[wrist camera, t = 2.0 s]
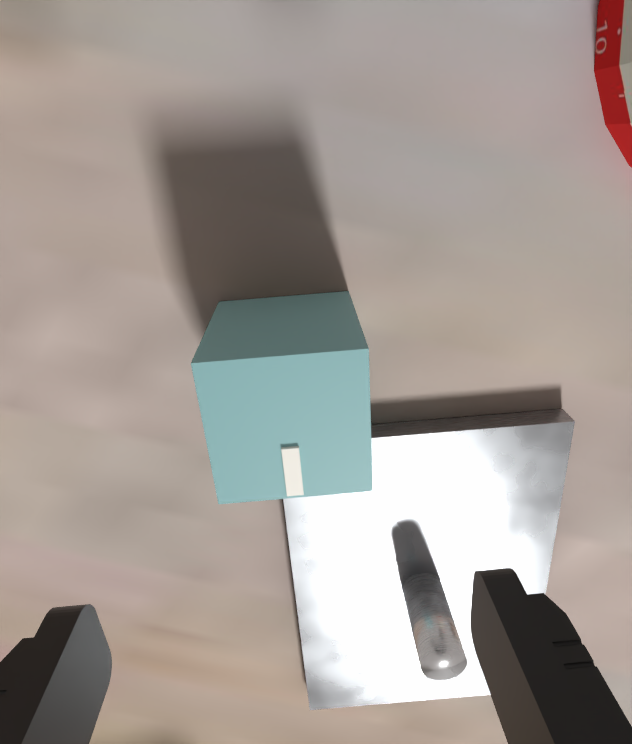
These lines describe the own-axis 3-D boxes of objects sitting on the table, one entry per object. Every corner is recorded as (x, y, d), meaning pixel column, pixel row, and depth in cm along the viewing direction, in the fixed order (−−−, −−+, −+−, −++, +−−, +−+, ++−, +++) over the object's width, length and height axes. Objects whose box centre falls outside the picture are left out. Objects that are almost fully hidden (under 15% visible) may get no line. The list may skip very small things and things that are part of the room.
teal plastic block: (218, 301, 22) (189, 365, 16) (348, 290, 22) (369, 350, 16) (237, 414, 24) (218, 506, 18) (353, 404, 24) (373, 493, 18)
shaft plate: (277, 432, 25) (272, 511, 19) (562, 408, 25) (633, 481, 20) (309, 691, 33) (312, 793, 28) (521, 673, 33) (562, 771, 28)
